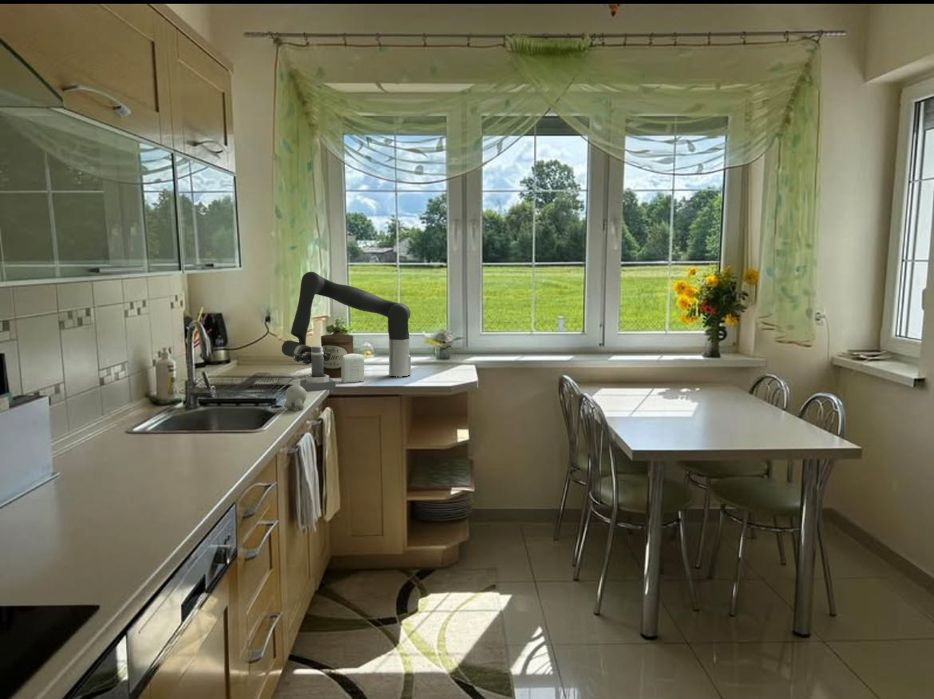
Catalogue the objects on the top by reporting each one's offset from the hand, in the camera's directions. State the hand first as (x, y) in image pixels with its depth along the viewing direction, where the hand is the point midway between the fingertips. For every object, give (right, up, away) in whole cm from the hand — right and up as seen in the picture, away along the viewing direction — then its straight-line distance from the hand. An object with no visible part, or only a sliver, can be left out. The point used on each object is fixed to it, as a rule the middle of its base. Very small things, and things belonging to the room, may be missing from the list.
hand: (317, 359), depth 262 cm
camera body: (0, -12, +2) cm, 12 cm away
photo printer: (+12, -10, +17) cm, 23 cm away
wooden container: (+2, -8, +33) cm, 34 cm away
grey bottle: (0, -9, +1) cm, 9 cm away
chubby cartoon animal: (+1, -17, -35) cm, 39 cm away
